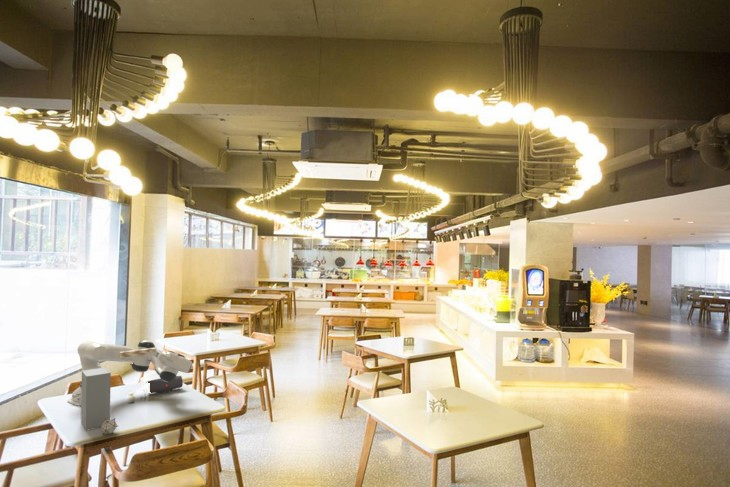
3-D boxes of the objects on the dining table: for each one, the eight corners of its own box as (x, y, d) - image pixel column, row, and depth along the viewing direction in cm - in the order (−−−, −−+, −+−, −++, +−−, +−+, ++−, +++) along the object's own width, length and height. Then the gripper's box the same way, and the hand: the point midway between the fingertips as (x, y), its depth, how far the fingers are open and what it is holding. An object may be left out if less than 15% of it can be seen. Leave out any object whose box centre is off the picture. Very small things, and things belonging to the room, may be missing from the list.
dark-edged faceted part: (109, 441, 246) (104, 431, 240) (98, 434, 249) (93, 423, 243) (123, 429, 253) (119, 418, 247) (113, 421, 256) (109, 411, 250)
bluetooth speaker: (149, 396, 312) (149, 382, 312) (145, 393, 319) (145, 379, 319) (183, 390, 327) (183, 376, 327) (178, 387, 334) (178, 373, 334)
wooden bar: (155, 352, 285) (155, 347, 285) (156, 353, 283) (156, 348, 283) (119, 356, 272) (119, 351, 272) (120, 357, 270) (120, 352, 270)
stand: (104, 417, 272) (105, 367, 273) (109, 425, 260) (110, 372, 261) (81, 422, 264) (81, 370, 265) (85, 430, 252) (86, 376, 253)
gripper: (170, 366, 280) (150, 358, 272) (161, 360, 295) (141, 352, 288) (176, 357, 282) (155, 348, 274) (166, 351, 297) (146, 343, 290)
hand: (148, 350), depth 281 cm, fingers closed on wooden bar, 3 cm apart
